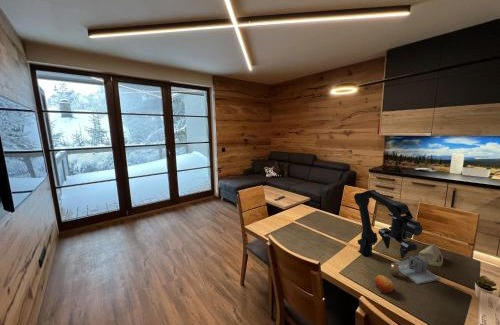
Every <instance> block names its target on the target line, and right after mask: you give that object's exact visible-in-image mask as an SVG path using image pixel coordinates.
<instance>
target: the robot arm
mask: <svg viewBox="0 0 500 325" xmlns="http://www.w3.org/2000/svg"><path fill="white" fill-rule="evenodd" d="M353 199H354V202H355V204H356V205H357V206H358V209H359V215H360V220H361V226H362V232H361V236H360V237H361V238H360V239H358V240H357V244H358V245H359V250H357V252H358V253H360V254H361V255H362V256H363V257H366V258H368V257H373V256H374V254H373V246H375V245H376V244H377V243H378V240H379V238H378V234H379V236H380V237H381V239H382V241H383V243H384V246H385V248H386V249H387V250H388V249H389V248H390V244H391V239H393V240H394V241H396V242H398V243H400V247H399V252H400V254H399V255H400V258H401V259H404V258H405V257H406V255H407V254H408V253H409V252H412V251H417V250H418V245H417V244H416V243H414V242H413V241H410V240H412V238H413V236H416V237H418V236H421V234H422V233H423V226H422V225H421V222H420V221H418V220H417V221H416V220H414V217H413V215H412V213H411V211H410V209H409V206H408V205H407V204H406V203H404V202H401V201H398V200H393V199H391V198H390V197H387V196H386V195H383V194H382V193H380V192H378V191H377V190H376V189H367V190H365V191H364V192H362V191H361V192H358V193H355V194H354V196H353ZM370 199H373V200H374V201H376V202H377V203H379V204H381V205H383V206H385V208H387V210H388V212H390V213H389V214H388V216H389V217H391V223H390V224H391V225H390V226H389V227H388V228H387V227H384V228H379V229H378V234H377V232H374V231H373V227H372V223H371V217H370V212H369V204H370ZM407 239H409V240H407ZM406 240H407V241H406Z"/></svg>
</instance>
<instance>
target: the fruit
mask: <svg viewBox="0 0 500 325" xmlns="http://www.w3.org/2000/svg"><path fill="white" fill-rule="evenodd" d="M374 282H375V284H374V285H375V288H377V289H378V292H379V294H381V293H384V294H389V293H391V292H392V291H393V290H394V289H395V285H394V282H393V281H392V280H391V279H390V278H389V277H387V276H385V275H382V274H378V275H377V276H376V277H375V280H374Z"/></svg>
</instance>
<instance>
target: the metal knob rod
mask: <svg viewBox="0 0 500 325" xmlns="http://www.w3.org/2000/svg"><path fill="white" fill-rule="evenodd" d="M413 267H416V263H413V264H408V265H403V266H399V265H398V264H396V263H395V262H390V271H389V274H390V275H392V276H394V277H398V276H399V272H400V271H399V270H403V269H408V268H413Z"/></svg>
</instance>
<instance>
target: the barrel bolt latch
mask: <svg viewBox="0 0 500 325" xmlns="http://www.w3.org/2000/svg"><path fill="white" fill-rule="evenodd" d="M418 255H419V254H418ZM418 255H414V256H412V255H411V256H409V257H408V259H405V260H401V261H395V262H394V263H396V264H398V265H399V266H403V265H408V264H413V263H416V267H413V268H408V269H403V270H399V272H400V273H402V274H403V275H405V276H406V277H408V278H409V279H410V280H411V281H412V282H414V283H416V284H417V285H421V284H425V283H430V282H434V281H440V280H441V279H440V277H439V276H438V275H436V274H434V273H433V272H431V271H430V270H428V265H429V264H428V261H427V260H425V259H423V258H422V257H420V256H418ZM421 261H422V262H421Z"/></svg>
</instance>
